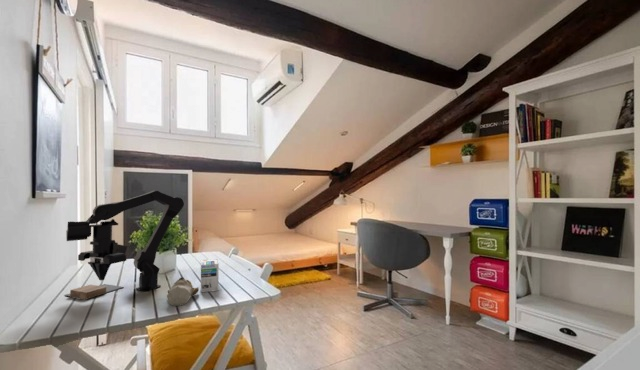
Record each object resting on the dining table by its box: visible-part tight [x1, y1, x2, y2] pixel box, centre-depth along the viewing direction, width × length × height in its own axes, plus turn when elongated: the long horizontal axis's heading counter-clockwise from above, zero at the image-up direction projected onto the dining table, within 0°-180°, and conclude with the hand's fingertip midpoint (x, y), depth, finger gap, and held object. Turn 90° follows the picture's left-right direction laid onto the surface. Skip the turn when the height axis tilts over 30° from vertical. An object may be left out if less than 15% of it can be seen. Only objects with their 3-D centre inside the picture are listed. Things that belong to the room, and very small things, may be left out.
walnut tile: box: [69, 284, 107, 300], centre depth 110 cm, size 2×7×9 cm
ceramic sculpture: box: [166, 276, 200, 307], centre depth 105 cm, size 11×9×15 cm
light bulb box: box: [200, 258, 219, 293], centre depth 119 cm, size 11×7×11 cm, turn 22°
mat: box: [64, 283, 124, 300], centre depth 114 cm, size 12×14×1 cm
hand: (101, 280), depth 108 cm, fingers closed
